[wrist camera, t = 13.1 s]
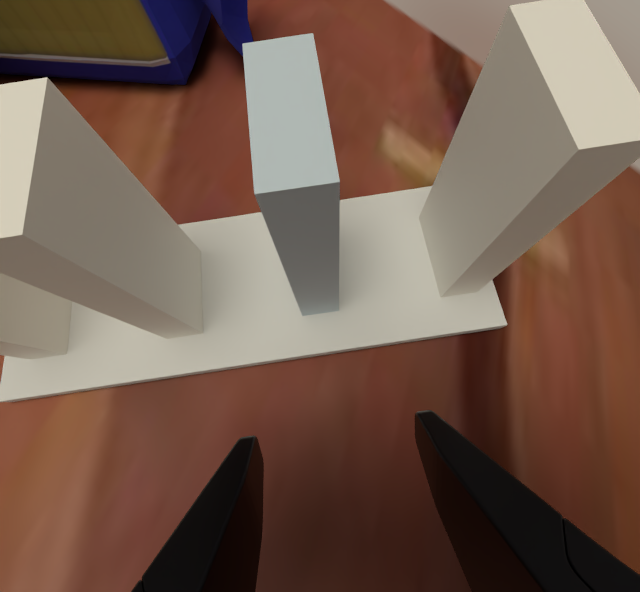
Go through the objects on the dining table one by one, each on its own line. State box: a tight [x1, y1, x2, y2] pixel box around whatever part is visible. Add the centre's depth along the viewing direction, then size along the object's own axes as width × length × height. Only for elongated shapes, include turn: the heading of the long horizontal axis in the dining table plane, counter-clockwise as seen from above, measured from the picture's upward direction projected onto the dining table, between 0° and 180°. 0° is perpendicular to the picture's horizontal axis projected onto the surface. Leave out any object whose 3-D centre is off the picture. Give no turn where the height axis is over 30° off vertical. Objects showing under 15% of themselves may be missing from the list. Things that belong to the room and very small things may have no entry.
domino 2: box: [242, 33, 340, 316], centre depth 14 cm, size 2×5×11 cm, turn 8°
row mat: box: [0, 186, 507, 402], centre depth 19 cm, size 9×27×1 cm, turn 98°
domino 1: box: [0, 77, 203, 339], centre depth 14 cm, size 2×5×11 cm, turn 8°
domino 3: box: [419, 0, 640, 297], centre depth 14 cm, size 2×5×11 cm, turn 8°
